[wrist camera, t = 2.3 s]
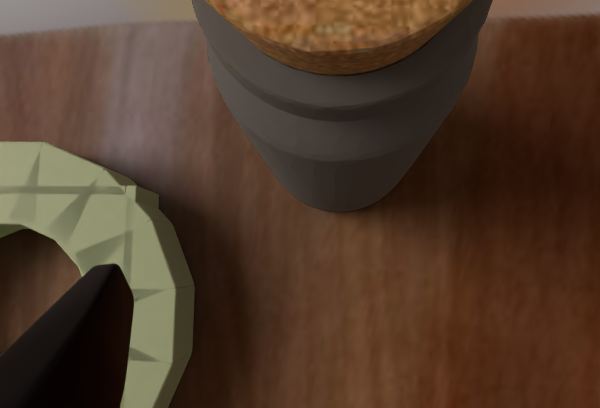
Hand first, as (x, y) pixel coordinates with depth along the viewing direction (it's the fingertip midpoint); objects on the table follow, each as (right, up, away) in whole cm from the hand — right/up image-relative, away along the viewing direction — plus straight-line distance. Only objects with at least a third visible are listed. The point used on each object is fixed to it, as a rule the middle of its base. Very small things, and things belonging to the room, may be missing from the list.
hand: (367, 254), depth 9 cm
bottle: (0, +3, +12) cm, 13 cm away
